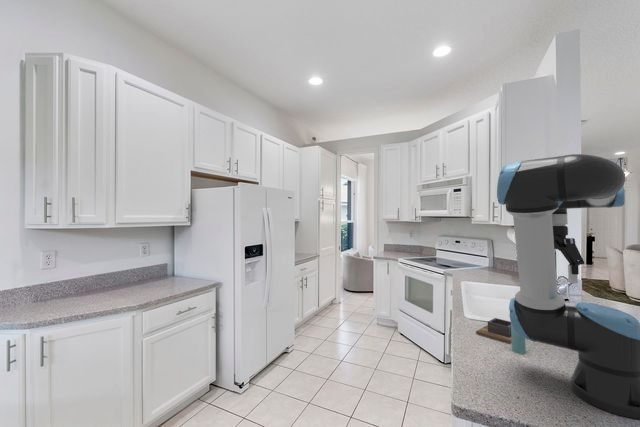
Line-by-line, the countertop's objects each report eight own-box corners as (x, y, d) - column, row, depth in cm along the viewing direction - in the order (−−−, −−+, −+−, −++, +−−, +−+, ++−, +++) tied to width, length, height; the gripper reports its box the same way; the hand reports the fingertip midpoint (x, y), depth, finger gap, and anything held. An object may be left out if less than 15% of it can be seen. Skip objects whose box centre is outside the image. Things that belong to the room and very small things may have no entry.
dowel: (523, 354, 95) (522, 314, 96) (510, 350, 99) (508, 311, 99) (527, 351, 98) (525, 311, 98) (514, 347, 101) (512, 309, 102)
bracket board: (509, 344, 104) (509, 330, 104) (476, 334, 113) (475, 321, 114) (522, 334, 112) (521, 321, 113) (490, 326, 122) (489, 314, 122)
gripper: (596, 225, 96) (599, 286, 95) (538, 225, 121) (540, 274, 120) (575, 225, 96) (577, 286, 95) (521, 225, 121) (523, 274, 120)
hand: (556, 279), depth 107 cm, fingers open, 13 cm apart
